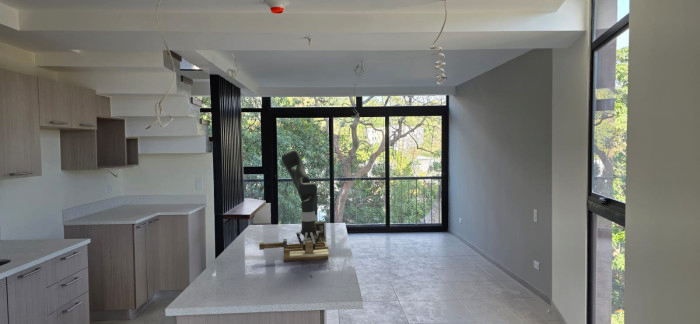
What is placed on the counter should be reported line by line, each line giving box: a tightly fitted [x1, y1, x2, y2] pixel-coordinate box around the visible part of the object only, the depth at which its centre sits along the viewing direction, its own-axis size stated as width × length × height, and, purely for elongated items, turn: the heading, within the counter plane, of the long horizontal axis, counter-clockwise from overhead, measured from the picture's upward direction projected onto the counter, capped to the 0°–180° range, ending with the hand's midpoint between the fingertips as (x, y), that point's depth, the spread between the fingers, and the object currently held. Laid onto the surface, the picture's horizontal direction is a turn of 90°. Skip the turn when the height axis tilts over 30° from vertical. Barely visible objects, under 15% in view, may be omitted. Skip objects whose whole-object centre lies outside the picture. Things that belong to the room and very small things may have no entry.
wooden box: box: [282, 238, 329, 263], centre depth 225 cm, size 12×25×11 cm, turn 100°
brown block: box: [258, 241, 283, 251], centre depth 221 cm, size 3×14×3 cm, turn 100°
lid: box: [290, 240, 330, 258], centre depth 212 cm, size 9×21×7 cm, turn 100°
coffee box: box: [311, 221, 327, 243], centre depth 245 cm, size 9×6×16 cm
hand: (309, 250), depth 212 cm, fingers closed on lid, 4 cm apart
